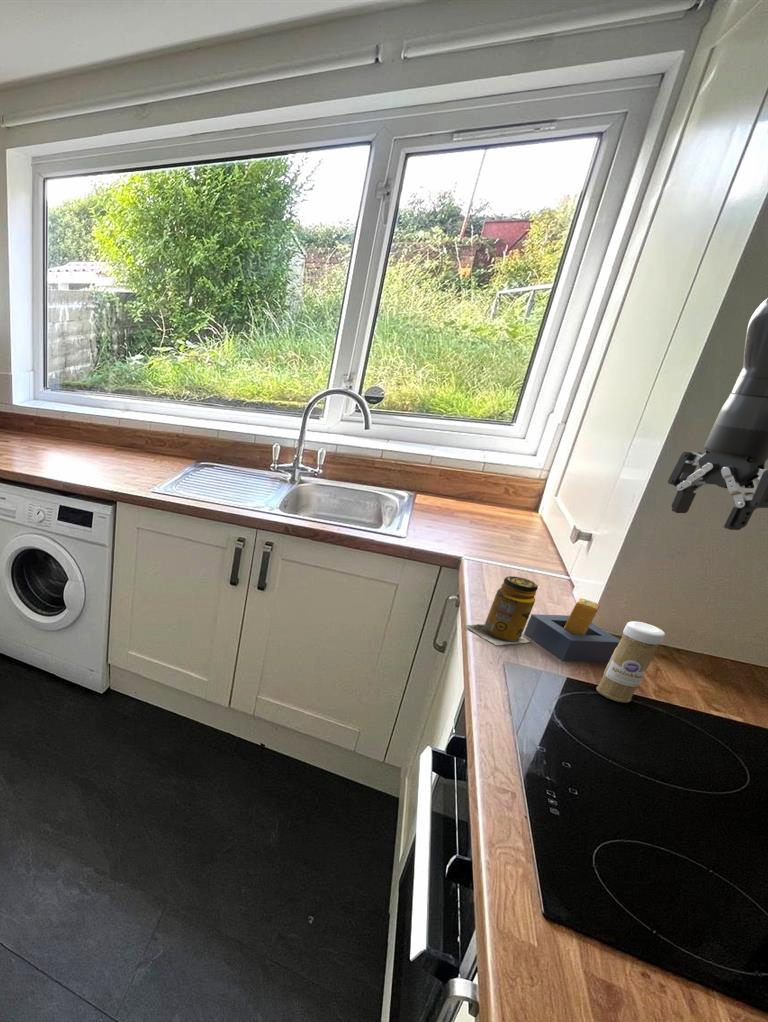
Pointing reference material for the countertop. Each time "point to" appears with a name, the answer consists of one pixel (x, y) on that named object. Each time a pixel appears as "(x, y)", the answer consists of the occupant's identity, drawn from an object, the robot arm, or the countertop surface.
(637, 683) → the sprinkles bottle
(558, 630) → the socket block
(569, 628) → the supplement box
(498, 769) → the countertop surface
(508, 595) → the condiment
